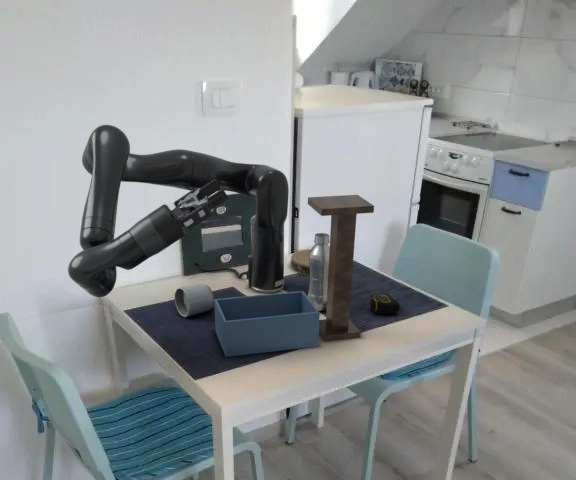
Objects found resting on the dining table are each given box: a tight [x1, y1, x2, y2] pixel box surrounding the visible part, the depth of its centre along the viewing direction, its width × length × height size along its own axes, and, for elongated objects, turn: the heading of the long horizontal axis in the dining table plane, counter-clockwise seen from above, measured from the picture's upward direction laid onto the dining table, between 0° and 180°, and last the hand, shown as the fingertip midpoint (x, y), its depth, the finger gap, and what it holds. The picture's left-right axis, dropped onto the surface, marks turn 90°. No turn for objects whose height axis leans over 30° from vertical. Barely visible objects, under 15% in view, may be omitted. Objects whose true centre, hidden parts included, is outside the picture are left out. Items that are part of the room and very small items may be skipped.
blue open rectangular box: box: [213, 290, 321, 358], centre depth 146 cm, size 22×13×9 cm, turn 106°
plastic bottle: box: [306, 232, 330, 312], centre depth 160 cm, size 6×7×20 cm
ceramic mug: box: [174, 283, 215, 318], centre depth 160 cm, size 11×8×8 cm
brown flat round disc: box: [290, 248, 311, 276], centre depth 192 cm, size 16×16×3 cm
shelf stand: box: [307, 194, 375, 342], centre depth 145 cm, size 12×10×32 cm
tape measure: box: [369, 293, 401, 315], centre depth 163 cm, size 7×7×4 cm
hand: (221, 188), depth 128 cm, fingers open, 8 cm apart
